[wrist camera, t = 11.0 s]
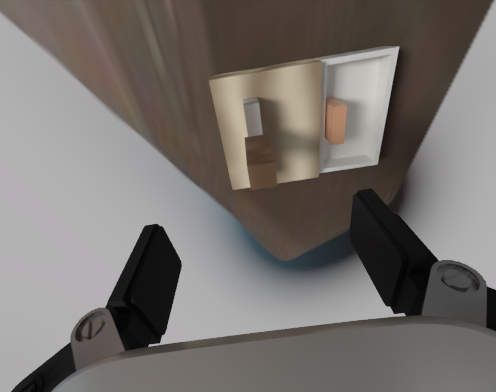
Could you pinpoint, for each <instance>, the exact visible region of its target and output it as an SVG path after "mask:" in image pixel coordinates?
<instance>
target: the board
mask: <svg viewBox="0 0 496 392" xmlns="http://www.w3.org/2000/svg"><path fill="white" fill-rule="evenodd" d="M321 72H322V61H319V60H315V59H306V60H300V61H295V62H289V63H283V64H277V65H272V66H266V67H260V68H254V69H248V70H243V71H237V72H231V73H225V74H219V75H214V76H212V77H211V78H210V80H209V84H210V88H211V93H212V97H213V102H214V106H215V111H216V116H217V120H218V125H219V129H220V134H221V138H222V143H223V147H224V152H225V157H226V161H227V166H228V170H229V175H230V179H231V184H232V188H233V190H236V189H243V188H249V187H250V182H249V175H248V169H247V161H246V149H245V138H244V137H248V133H247V127H246V120H245V113H244V107H243V99H247V98H253V97H257V99H258V101H259V107H260V116H261V125H262V133H263V134H266V135H267V138H268V141H269V144H270V147H271V150H272V153H273V156H274V159H275V163H276V174H277V183H283V182H289V181H296V180H303V179H310V178H316V177H319V147H320V109H321Z"/></svg>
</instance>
